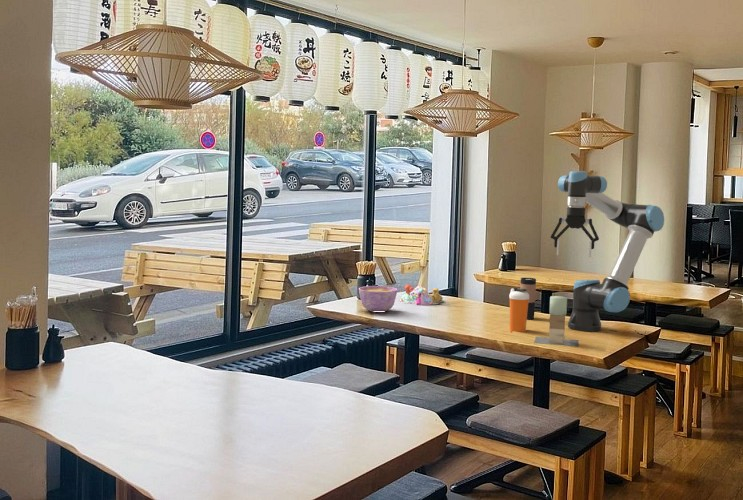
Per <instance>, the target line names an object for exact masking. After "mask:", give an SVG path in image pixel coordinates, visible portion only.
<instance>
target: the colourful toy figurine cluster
mask: <svg viewBox="0 0 743 500" xmlns="http://www.w3.org/2000/svg"><path fill="white" fill-rule="evenodd" d="M404 291H405V294H402V295H401V297H400V298H399V299H400V301H401V302H400V303H402V302H408V303H407V304H411V303H413V304H412V305H415V304H417V305H416V306H419V305H420V306H429V305H430V306H431V305H439V304H440V305H441V303H443V302H444V300H443V299H444V298H443V296H442V295H441V294H440V293H439V291H440V290H439V289H438V288H437V287H434V288H433V289H432V293H429V291H428V289H427V288H425V287H423V286H421V285H417V286H416V287H413V286H412V285H411V284H406V285H404ZM418 304H419V305H418Z"/></svg>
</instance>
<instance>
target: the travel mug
mask: <svg viewBox="0 0 743 500" xmlns="http://www.w3.org/2000/svg"><path fill="white" fill-rule="evenodd" d="M519 285H520V288H519V289H527V290H526V292H527V293H528V294H529V300H528V311H527V321H529V320H530V321H532V320H534V319H535V311H536V309H535V308H536V295H537V294H536V293H537V292H536V291H537V278H534V277H520V284H519ZM521 291H522V290H521Z"/></svg>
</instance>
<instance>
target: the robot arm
mask: <svg viewBox="0 0 743 500" xmlns="http://www.w3.org/2000/svg"><path fill="white" fill-rule="evenodd" d="M557 186H558V187H557V188H558V189H559V191H561V192H565V193H567V200H566V201H567V203H566V205H567V208H566V218H564V217H559V218H558V223H557V224H556V226H555V228H554V230H553V231H552V233H551V235H550V238H551V239H552V240H554V242H553V243H554V245H553V246H554V248H556V256H559V254H560V239H559V238H560V237H562V236H563V234H565V232H566V231H568V229H569V228H570V229H577V230H578V229H582V231H583V232H584V233H585V235H586V236H587V237H588V238H589V239H590V241H589V248H588V249H589V251H588V257H589V258H591V257H592V250H594V249H595V242H596V241H597V242H598V241H599V240H600V238H599V236H598V233H597V230H596V229H595V227H594V225H593V219H592V218H590V217H589V218H585V217H586V208H585V207H586V204H588V205H590V206H592V207H593V208H595V209H596V210H597V211H599V212H602V214H604V215H605V217H606V218H607V219H609V220H610V221H611V222H613V223H615V224H617V225H619V226H620V227H624V228H626V229H627V230H628V231H629V232H628V234H627V236H626V238H625V240H624V243H623V245H622V246H621V249H620V251H619V253H618V256H617V258H616V260H615V262H614V265H613V267H612V268H611V271H610V273H609V275H608V276H605V277H604V278H603V280H602V282H601V281H600V279H579V280H575V281H574V285H573V289H572V290H573V292H572V293H573V294H572V295H573V296H572V312H571V314H570V317H569V319H568V321H567V328H568V329H571V330H574V331H579V332H580V331H581V332H599V331H601V330H602V322H601V318H600V314H599V310H601V311H606V312H609V313H620V312H623V311H624V310H626V308H627V307H628V305H629V304H630V300H631V298H630V296H631V295H630V291H629V289H630V287H629V285H628V283H629V281H630V278H631V276H632V274H633V272H634V269H635V267H636V265H637V263H638V260H640V259H639V258H640V256H641V254H642V252H643V250H644V247H645V245H646V243H647V241H648V239H651V238H652V237H653V236H654V233H655V232H659V231H661V230H662V229H663V227H664V224H665V216H664V212H663V210H662V208H661V207H660V206H657V205H652V204H637V203H636V204H634V203H625V202H622V201H621V200H619V199H618V200H617V199H615V200H614V199H613V198H611V197H610V196H608V195H607V194H605V193H604V192H606V190H607V188H608V181H607V179H606V178H605V177H604V176H601V175H588V172H587V171H586V170H571V171H570V172H569V174H567V175H564V174H563V175H561V176H560V177H559V179H558V182H557ZM564 222H565V223H566V226H565V227H563V229H561V231H560V232H559V233H558V234H557V235H556V233H557V232H558V231H559V228H560V227H561V224H563V223H564ZM585 223H587V224H588V225H589V226H590V227H589V228H590V229H591V232H592V234H593V236H594V237H593V236H592V234H591V233H590V232H589V231H588V229H587V228H586V226H585V225H584V224H585ZM555 235H556V236H555Z"/></svg>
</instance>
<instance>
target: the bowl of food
mask: <svg viewBox="0 0 743 500" xmlns="http://www.w3.org/2000/svg"><path fill="white" fill-rule="evenodd" d="M358 293H359V296H360V297H359V298H360V301H361V305H362V306H363V308H364V309H366V310H368V311H370V310H371V311H389V310H391V309H392V308H393V306H394V305H395V301H396V299H397V298H396V297H397V294H398V288H396V287H392V286H387V285H385V286H384V285H366V286H361V287H359V288H358Z"/></svg>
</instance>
